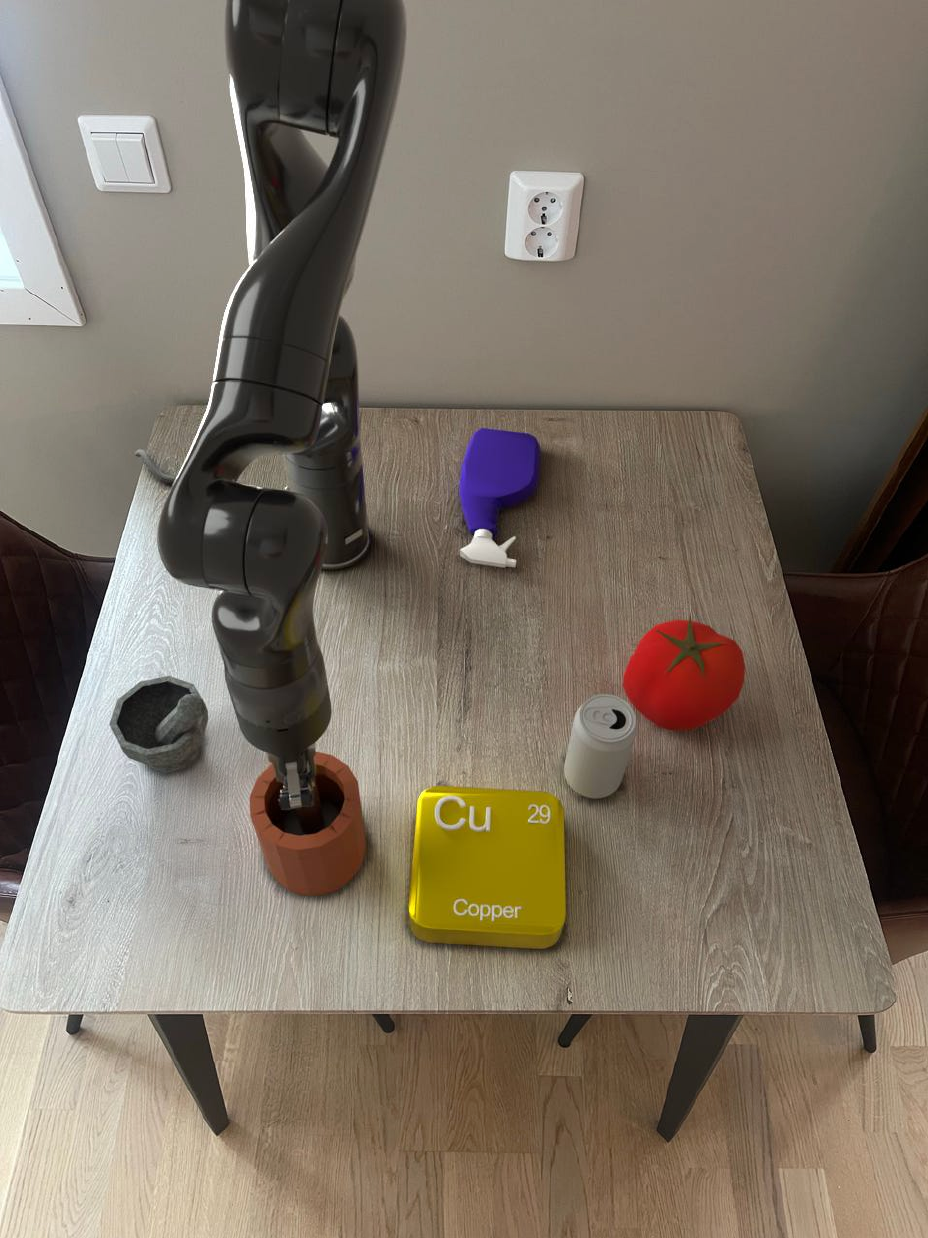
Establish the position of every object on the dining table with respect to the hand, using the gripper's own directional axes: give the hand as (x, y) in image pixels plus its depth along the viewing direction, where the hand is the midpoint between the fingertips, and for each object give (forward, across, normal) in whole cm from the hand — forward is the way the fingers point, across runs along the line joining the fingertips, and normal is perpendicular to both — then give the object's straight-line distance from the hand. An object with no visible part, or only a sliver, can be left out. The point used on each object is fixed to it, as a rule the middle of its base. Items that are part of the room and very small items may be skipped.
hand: (303, 789), depth 86 cm
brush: (+11, 0, 0) cm, 11 cm away
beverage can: (+13, -4, +30) cm, 33 cm away
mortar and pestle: (+13, -14, -14) cm, 24 cm away
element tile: (+13, +6, +17) cm, 22 cm away
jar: (+13, 0, 0) cm, 13 cm away
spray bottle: (+13, -47, +28) cm, 56 cm away
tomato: (+13, -11, +42) cm, 46 cm away
